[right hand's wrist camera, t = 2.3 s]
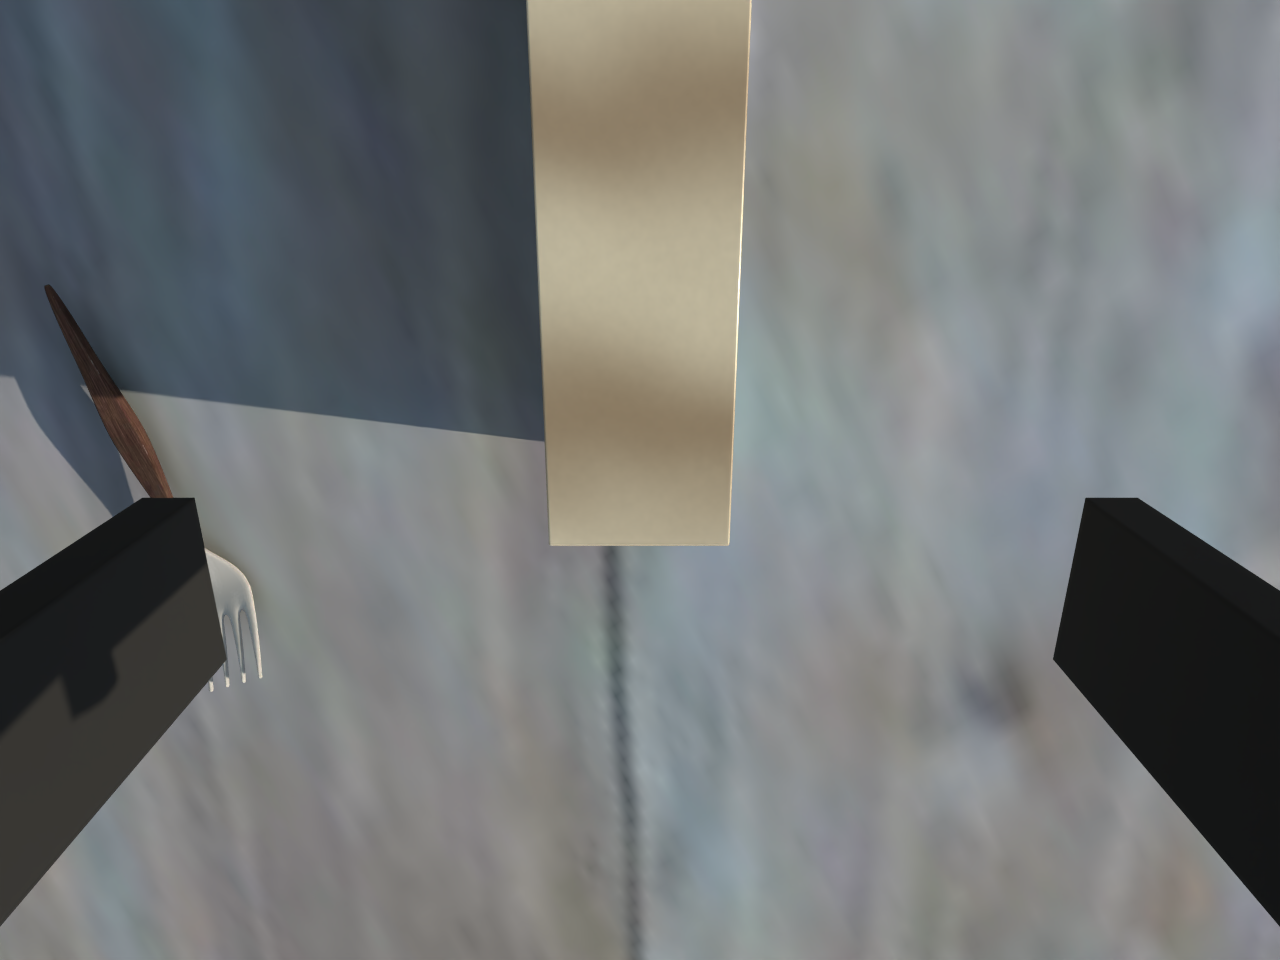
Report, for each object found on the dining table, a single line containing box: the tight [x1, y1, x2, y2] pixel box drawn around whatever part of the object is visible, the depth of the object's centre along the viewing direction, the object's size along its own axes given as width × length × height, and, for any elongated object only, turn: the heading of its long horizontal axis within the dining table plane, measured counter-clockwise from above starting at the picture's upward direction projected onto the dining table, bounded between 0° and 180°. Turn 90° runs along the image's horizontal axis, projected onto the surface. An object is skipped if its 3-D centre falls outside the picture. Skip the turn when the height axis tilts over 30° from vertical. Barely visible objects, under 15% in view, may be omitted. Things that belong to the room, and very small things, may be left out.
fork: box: [45, 285, 262, 692], centre depth 31 cm, size 3×16×2 cm, turn 17°
